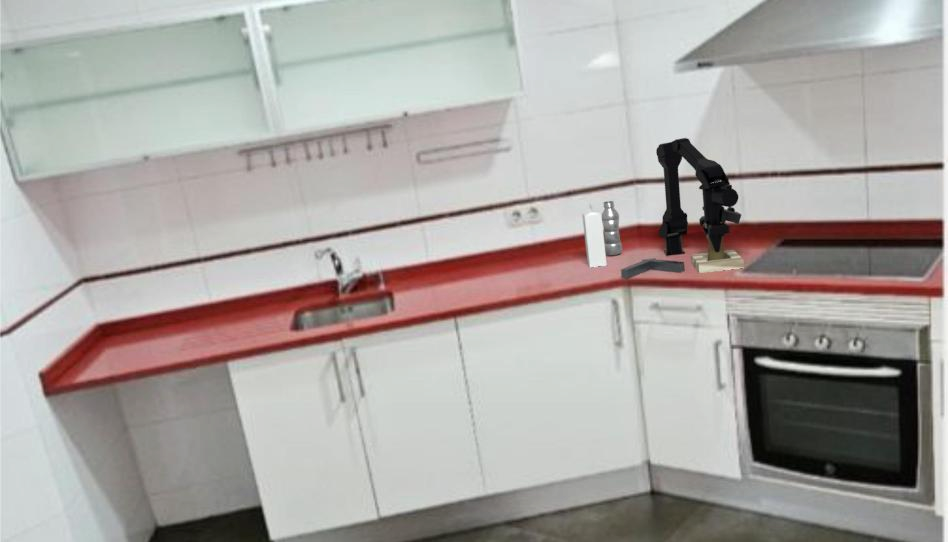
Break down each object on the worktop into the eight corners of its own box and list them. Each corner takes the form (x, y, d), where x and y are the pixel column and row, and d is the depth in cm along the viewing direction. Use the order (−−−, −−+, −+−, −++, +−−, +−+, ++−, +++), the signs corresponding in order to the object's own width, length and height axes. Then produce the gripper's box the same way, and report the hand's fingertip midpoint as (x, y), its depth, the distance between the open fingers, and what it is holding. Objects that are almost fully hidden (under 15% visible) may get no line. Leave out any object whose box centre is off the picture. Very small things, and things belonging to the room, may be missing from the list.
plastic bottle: (609, 252, 306) (604, 200, 302) (625, 252, 302) (620, 200, 298) (601, 256, 301) (596, 204, 297) (618, 257, 297) (612, 203, 293)
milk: (590, 268, 287) (582, 207, 282) (587, 264, 293) (580, 204, 288) (607, 265, 287) (600, 204, 282) (604, 262, 293) (597, 202, 288)
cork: (724, 260, 269) (722, 228, 266) (728, 264, 263) (726, 231, 260) (705, 262, 270) (703, 230, 267) (709, 267, 264) (706, 234, 261)
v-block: (619, 270, 278) (618, 262, 277) (679, 263, 275) (679, 255, 275) (622, 279, 267) (621, 270, 266) (685, 272, 264) (684, 263, 264)
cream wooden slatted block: (691, 263, 274) (691, 254, 273) (734, 258, 272) (733, 249, 272) (699, 273, 260) (698, 264, 260) (744, 268, 259) (743, 259, 258)
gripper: (745, 205, 252) (748, 253, 255) (731, 196, 270) (734, 241, 273) (708, 209, 253) (712, 258, 257) (697, 200, 271) (701, 245, 275)
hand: (715, 250), depth 265 cm, fingers closed on cork, 4 cm apart
